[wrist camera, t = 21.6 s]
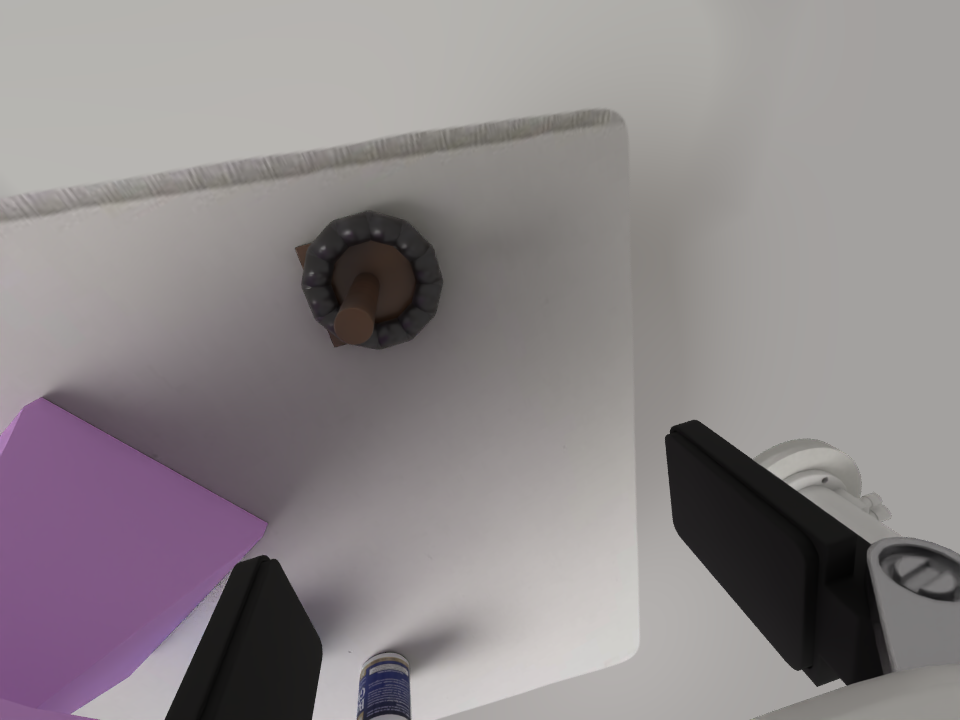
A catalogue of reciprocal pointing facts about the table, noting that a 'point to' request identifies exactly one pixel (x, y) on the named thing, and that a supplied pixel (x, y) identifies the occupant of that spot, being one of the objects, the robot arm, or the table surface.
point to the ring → (386, 232)
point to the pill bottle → (385, 689)
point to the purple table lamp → (97, 559)
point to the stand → (367, 289)
